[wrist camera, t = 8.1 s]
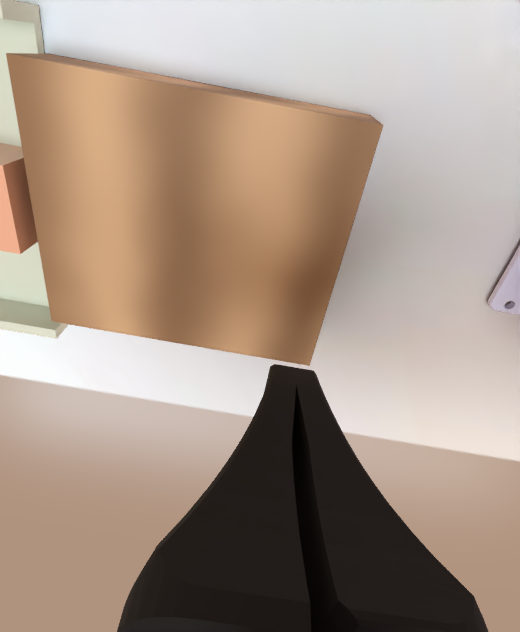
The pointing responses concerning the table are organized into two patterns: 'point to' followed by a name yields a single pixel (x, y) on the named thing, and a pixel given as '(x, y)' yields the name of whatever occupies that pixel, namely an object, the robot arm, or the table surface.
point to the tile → (15, 202)
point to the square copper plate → (187, 204)
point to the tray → (21, 37)
